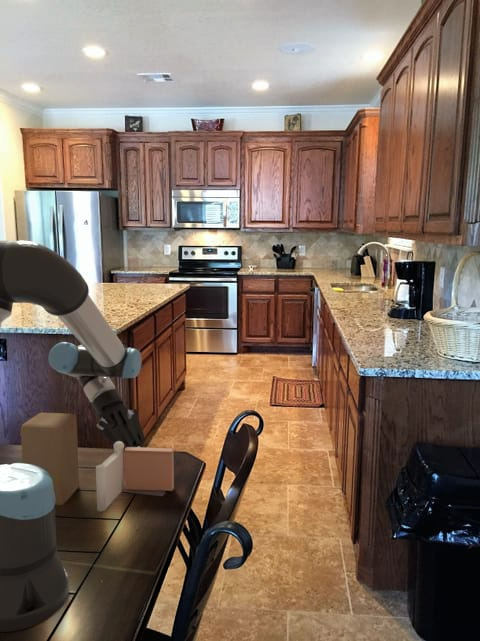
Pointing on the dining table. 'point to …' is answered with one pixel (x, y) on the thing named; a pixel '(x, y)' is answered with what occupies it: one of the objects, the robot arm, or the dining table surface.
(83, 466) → the dining table surface
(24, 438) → the wooden block
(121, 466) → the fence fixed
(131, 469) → the terracotta rectangular slab
